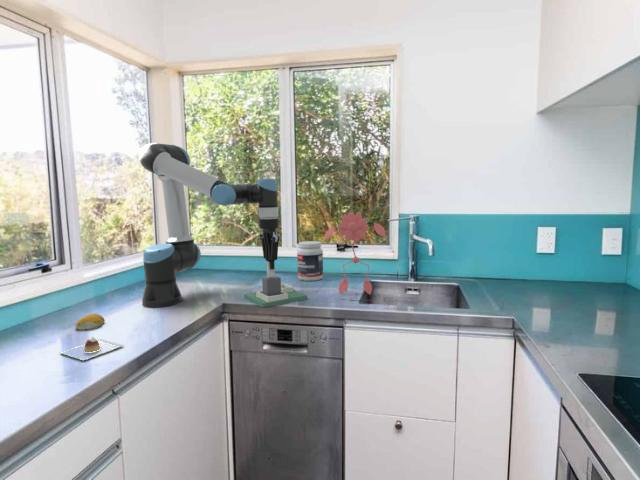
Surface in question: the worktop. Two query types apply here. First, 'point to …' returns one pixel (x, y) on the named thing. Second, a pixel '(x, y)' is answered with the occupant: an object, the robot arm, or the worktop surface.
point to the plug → (271, 285)
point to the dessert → (92, 347)
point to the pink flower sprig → (354, 231)
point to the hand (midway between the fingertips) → (271, 276)
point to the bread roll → (90, 322)
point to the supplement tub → (310, 261)
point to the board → (276, 297)
